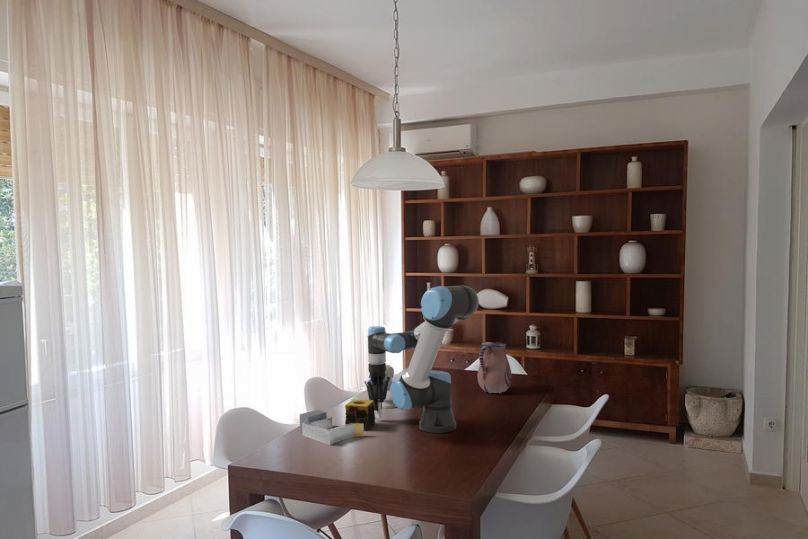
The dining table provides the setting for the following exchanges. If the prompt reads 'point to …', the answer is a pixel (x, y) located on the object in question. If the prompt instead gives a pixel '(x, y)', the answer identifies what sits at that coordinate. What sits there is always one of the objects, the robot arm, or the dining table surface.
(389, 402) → the figurine
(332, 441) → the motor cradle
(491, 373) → the ceramic pitcher
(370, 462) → the dining table surface
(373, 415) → the yellow and black cube
